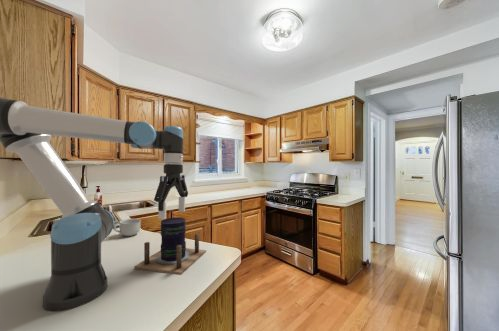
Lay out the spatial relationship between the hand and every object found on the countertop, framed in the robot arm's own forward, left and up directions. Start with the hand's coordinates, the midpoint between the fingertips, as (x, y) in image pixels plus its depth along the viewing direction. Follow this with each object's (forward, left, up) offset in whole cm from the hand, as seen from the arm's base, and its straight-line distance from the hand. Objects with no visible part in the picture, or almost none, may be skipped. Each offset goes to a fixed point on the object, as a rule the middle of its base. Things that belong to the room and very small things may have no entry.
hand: (172, 215), depth 85 cm
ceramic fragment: (+35, +63, -19) cm, 75 cm away
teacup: (+23, +45, -19) cm, 54 cm away
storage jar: (0, 0, -17) cm, 17 cm away
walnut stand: (0, 0, -19) cm, 19 cm away
